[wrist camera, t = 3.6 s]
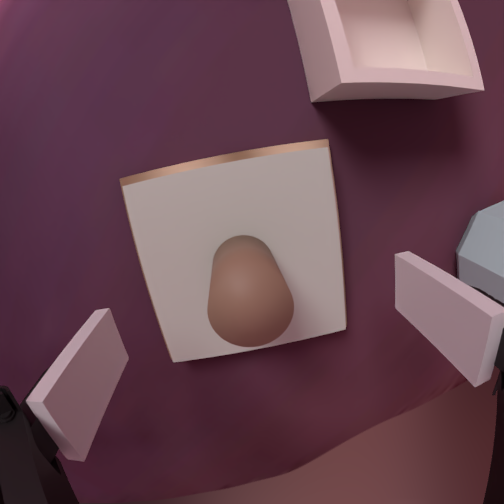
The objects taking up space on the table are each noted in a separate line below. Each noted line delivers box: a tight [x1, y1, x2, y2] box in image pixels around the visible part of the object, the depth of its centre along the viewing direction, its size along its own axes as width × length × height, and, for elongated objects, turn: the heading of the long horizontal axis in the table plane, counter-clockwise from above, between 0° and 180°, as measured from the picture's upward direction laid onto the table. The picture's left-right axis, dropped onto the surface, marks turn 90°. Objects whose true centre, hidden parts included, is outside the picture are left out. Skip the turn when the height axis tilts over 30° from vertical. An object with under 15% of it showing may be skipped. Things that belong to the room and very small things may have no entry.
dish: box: [287, 0, 484, 102], centre depth 14 cm, size 10×10×6 cm
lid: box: [122, 147, 346, 362], centre depth 16 cm, size 12×12×7 cm
